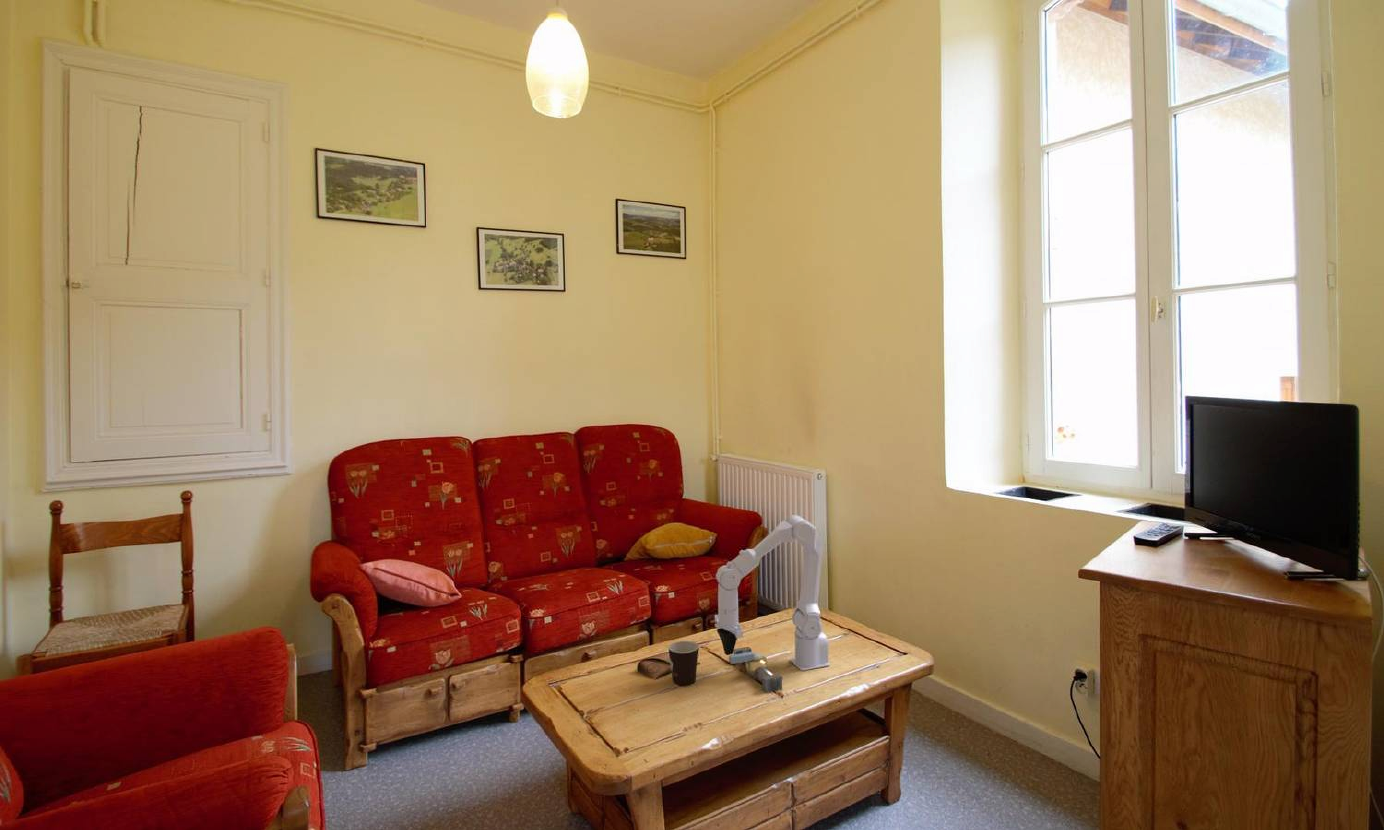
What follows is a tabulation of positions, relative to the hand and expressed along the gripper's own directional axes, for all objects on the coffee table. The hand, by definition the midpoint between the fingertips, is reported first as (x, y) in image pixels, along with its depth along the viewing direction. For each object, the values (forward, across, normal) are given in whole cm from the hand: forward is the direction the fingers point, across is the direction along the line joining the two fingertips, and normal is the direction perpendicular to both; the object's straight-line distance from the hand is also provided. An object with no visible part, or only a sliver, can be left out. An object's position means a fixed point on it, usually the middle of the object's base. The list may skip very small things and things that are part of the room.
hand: (728, 653), depth 195 cm
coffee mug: (+5, -1, -13) cm, 14 cm away
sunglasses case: (+6, -10, -14) cm, 19 cm away
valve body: (+5, +6, +6) cm, 10 cm away
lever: (0, +5, +3) cm, 6 cm away
